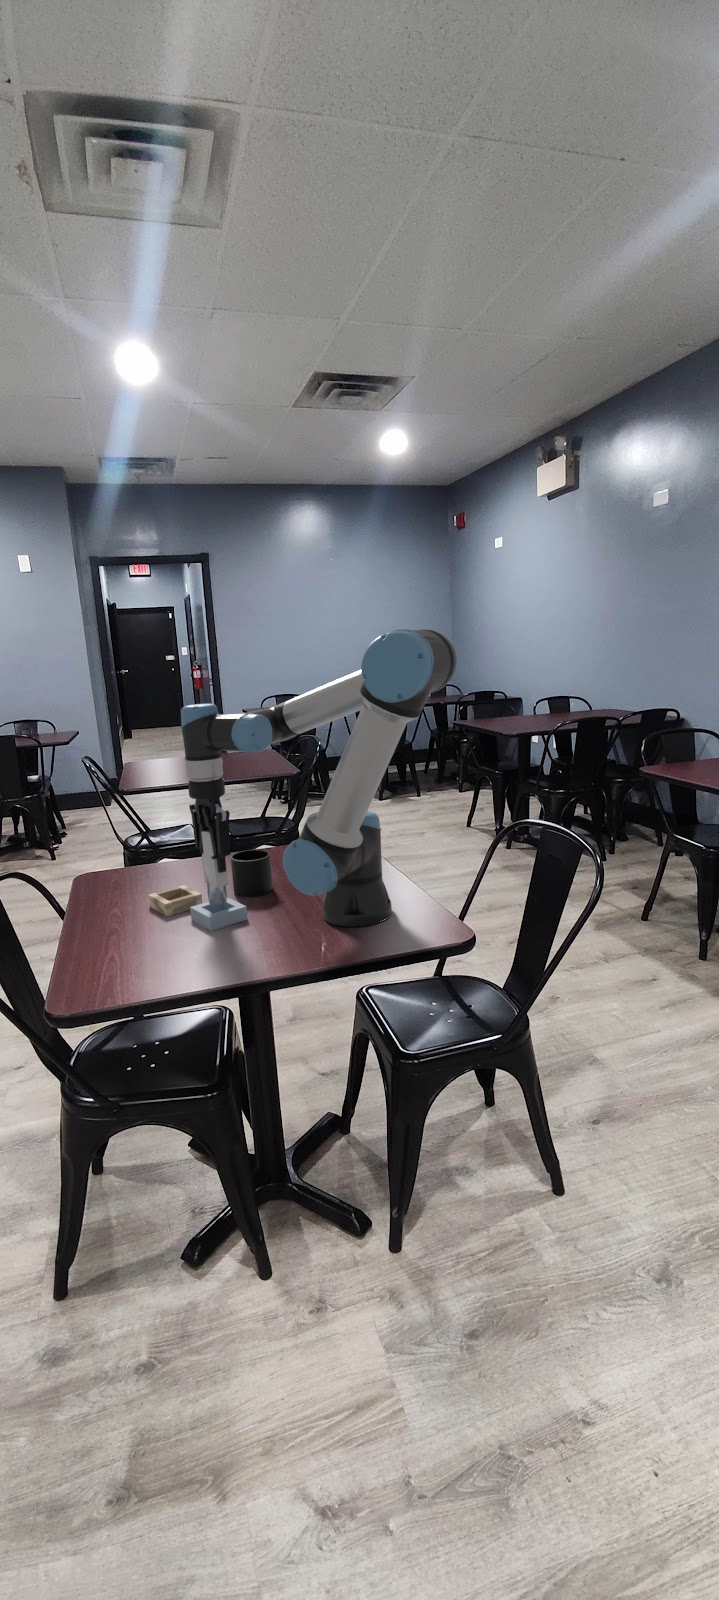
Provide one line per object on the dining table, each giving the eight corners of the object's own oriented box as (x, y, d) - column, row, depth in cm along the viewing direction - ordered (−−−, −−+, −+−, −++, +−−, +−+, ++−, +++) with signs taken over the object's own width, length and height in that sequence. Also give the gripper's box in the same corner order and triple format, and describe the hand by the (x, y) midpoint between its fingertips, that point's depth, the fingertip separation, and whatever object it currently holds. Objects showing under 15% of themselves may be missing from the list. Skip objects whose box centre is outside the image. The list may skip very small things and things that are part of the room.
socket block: (247, 919, 158) (246, 906, 158) (211, 931, 153) (209, 917, 152) (227, 908, 165) (225, 896, 165) (191, 919, 160) (190, 907, 159)
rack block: (202, 905, 168) (201, 893, 167) (166, 916, 162) (165, 904, 162) (185, 896, 175) (183, 885, 174) (149, 906, 169) (148, 894, 168)
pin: (230, 900, 158) (223, 830, 154) (214, 905, 155) (207, 834, 152) (221, 896, 161) (214, 827, 157) (205, 901, 158) (198, 830, 155)
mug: (268, 879, 185) (265, 845, 183) (275, 894, 173) (272, 858, 171) (231, 883, 183) (228, 849, 181) (235, 899, 171) (232, 863, 169)
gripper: (241, 779, 148) (251, 887, 153) (202, 771, 161) (212, 871, 166) (209, 785, 143) (220, 897, 148) (171, 776, 156) (182, 879, 161)
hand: (216, 883), depth 157 cm, fingers closed on pin, 4 cm apart
